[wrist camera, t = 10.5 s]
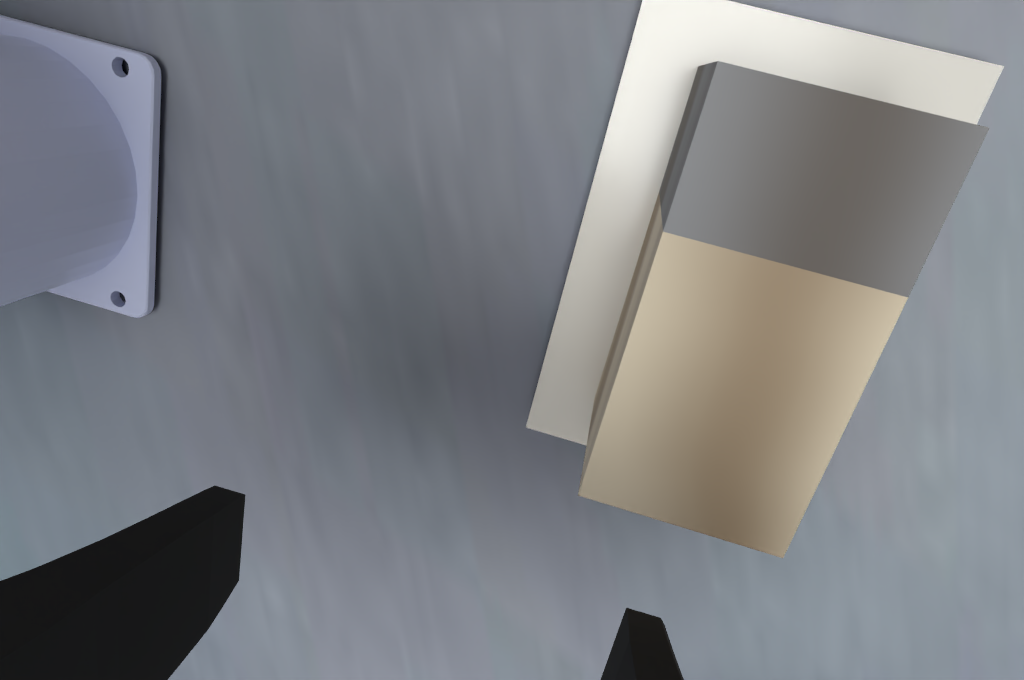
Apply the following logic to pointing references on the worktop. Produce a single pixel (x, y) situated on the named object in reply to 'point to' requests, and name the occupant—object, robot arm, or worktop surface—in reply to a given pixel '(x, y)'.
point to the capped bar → (765, 298)
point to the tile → (651, 135)
